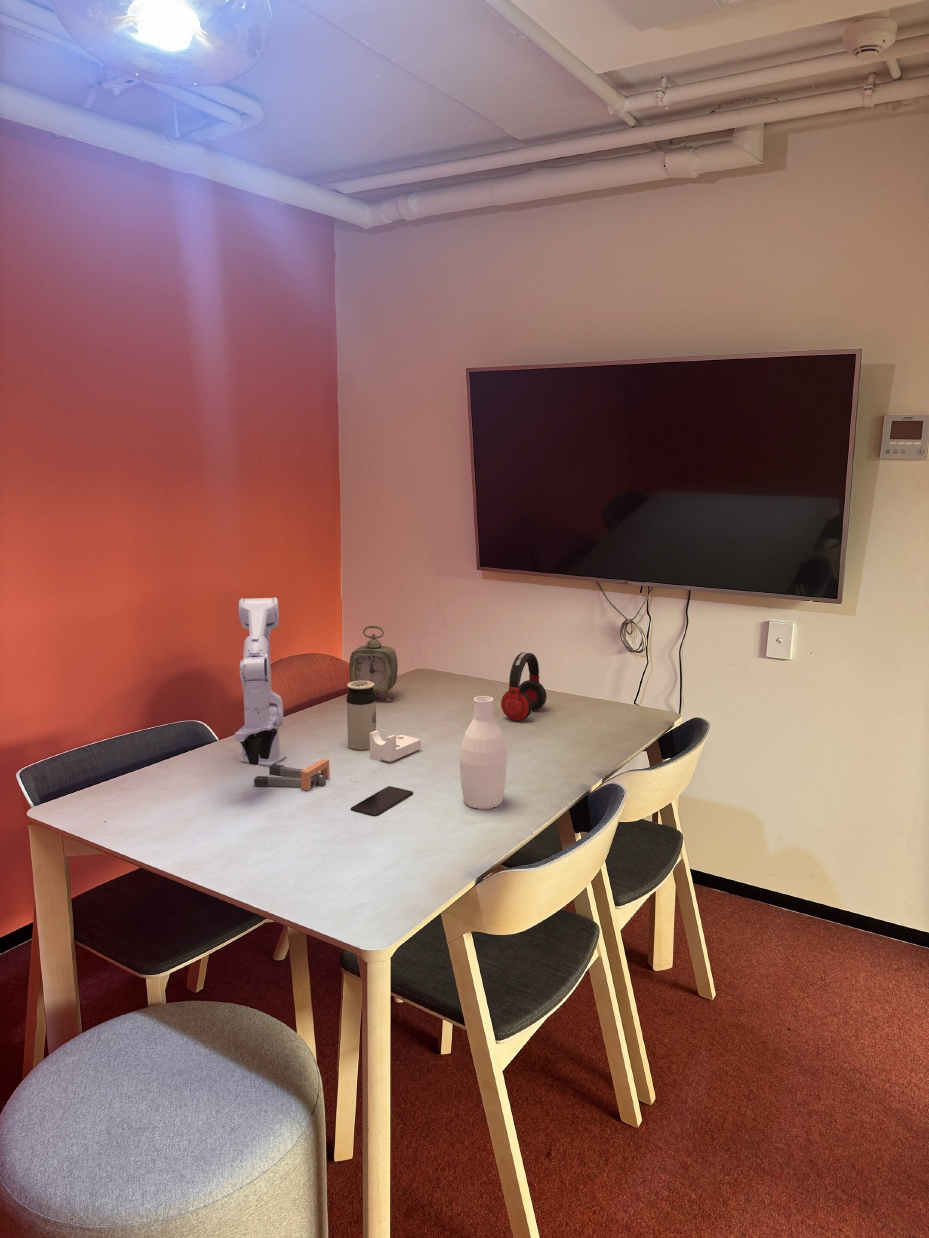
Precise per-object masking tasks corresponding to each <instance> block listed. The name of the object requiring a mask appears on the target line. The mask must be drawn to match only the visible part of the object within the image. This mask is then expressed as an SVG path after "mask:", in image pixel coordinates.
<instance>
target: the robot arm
mask: <svg viewBox="0 0 929 1238" xmlns="http://www.w3.org/2000/svg"><path fill="white" fill-rule="evenodd" d="M238 615H239V616H238V617H239V621H240V625H242V626H241V627H242V628H243V629H245V630H248V634H249V636H247V637H246V638H245V639H244V641H243V652H242V653H243V655H242V657H243V658H242V659H240V661H239V676H240V681H241V687H242V690H243V709H244V710H243V711H244V717H243V718H244V725H243V726H241V728H240V729H239V730H238V731H236V732H234V741H235V742H239V743H240V744H241V753H242V754H241V757H242V758H241V759H240V761H241V762H244V763H248V765H253V766H258V765H261V766H267V767H270V766H271V765H273V764H277V763H278V762H280V761H281V760H284V759H285V758H287V755H286V754H282V753H281V752H280V750H281V749H280V733H279V732H280V730H279V728H280V727H282V726H283V725H284V705H283V699H282V697H281V696H280V695H279V694H278V693H276V692H275V691H273V690H272V672H271V670H272V669H271V666H272V665H271V646H270V645H271V643H270V642H271V640H270V639H271V637H270V636H271V634H272V630H274V629H276V628H278V627H279V624H280V621H279V620H280V618H279V617H280V608H279V599H278V598H277V597H264V598H263V597H262V598H258V597H257V598H244V597H243V598H240V599H239V601H238Z"/></svg>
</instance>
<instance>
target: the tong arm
mask: <svg viewBox="0 0 929 1238" xmlns="http://www.w3.org/2000/svg"><path fill="white" fill-rule="evenodd" d="M310 782H311V788H313V787H314V786H315V782H314V778H310ZM253 785H254V786H255V787H267V786H268V787H269V786H270V787H271V786H272V787H298V788H299V787H300V788H301V778H290V777H285V776H269V775H268V776H267V775H263V776H262V775H256V776H255V777H254V779H253Z"/></svg>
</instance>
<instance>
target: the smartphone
mask: <svg viewBox="0 0 929 1238" xmlns="http://www.w3.org/2000/svg"><path fill="white" fill-rule="evenodd" d="M413 795H414V791H413V790H409V789H406V788H405V789H404V788H400V787H396V786H393V785H392V786H391V785H390V786H389V785H388V786H386V787H384V788H382V789H380V790H379V791H377V792H375V793H373V794H372V795H370V796H369V797H367V798H365V799H363V800H362V801H360V802H358V803H356V804H355V805H353V806H351V807H350V811H352V812H355V813H358V814H363V815H365V816H369V817H378V816H380V815H382V814H384V813H385V812H387V811H389V810H390V809H392V808H394V807H395V806H398V805H399V804H400V803H401V802H403V801H406V800H407V799H408V798H411V796H413Z"/></svg>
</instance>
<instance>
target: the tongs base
mask: <svg viewBox="0 0 929 1238" xmlns="http://www.w3.org/2000/svg"><path fill="white" fill-rule="evenodd" d="M268 770H269V771H268V772H269V775H273V776H276V777H290V778H301V771H302V770H303V769H301V768H295V767H290V766H289V767H288V766H285V765H283V764H277V763H274V764H273V765H271V766H268ZM310 778H314V783H315V786H316V787H320V788H321V787H325V786H326V785H327V778H326V774H325V773H321V772H320V771H319V772H318V773H316V774H315V775H313V776H311V777H310Z"/></svg>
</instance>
